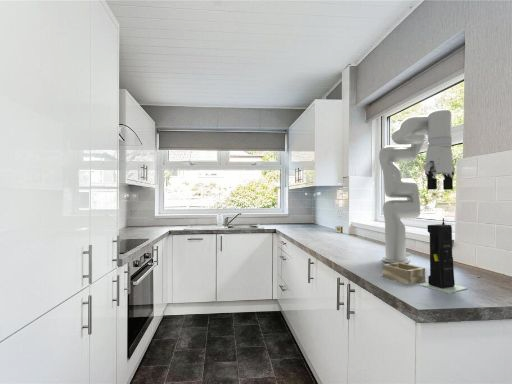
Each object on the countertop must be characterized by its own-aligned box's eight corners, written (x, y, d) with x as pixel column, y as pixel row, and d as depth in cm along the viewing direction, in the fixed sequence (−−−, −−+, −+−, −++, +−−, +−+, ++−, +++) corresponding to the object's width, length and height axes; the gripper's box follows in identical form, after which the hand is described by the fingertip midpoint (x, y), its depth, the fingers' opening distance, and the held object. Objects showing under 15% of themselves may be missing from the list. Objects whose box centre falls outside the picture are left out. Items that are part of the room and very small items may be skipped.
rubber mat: (436, 281, 116) (436, 280, 116) (467, 289, 106) (467, 288, 106) (419, 285, 111) (419, 284, 111) (449, 293, 101) (449, 292, 101)
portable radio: (441, 289, 104) (440, 219, 104) (425, 284, 110) (425, 218, 110) (456, 287, 107) (455, 218, 107) (440, 282, 113) (439, 217, 113)
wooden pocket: (398, 273, 127) (398, 262, 127) (425, 280, 116) (425, 268, 116) (382, 276, 123) (382, 264, 123) (408, 284, 112) (408, 271, 112)
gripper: (443, 147, 117) (443, 189, 116) (415, 143, 109) (415, 189, 109) (463, 144, 110) (464, 189, 110) (435, 140, 102) (436, 189, 102)
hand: (440, 189), depth 109 cm, fingers open, 9 cm apart
